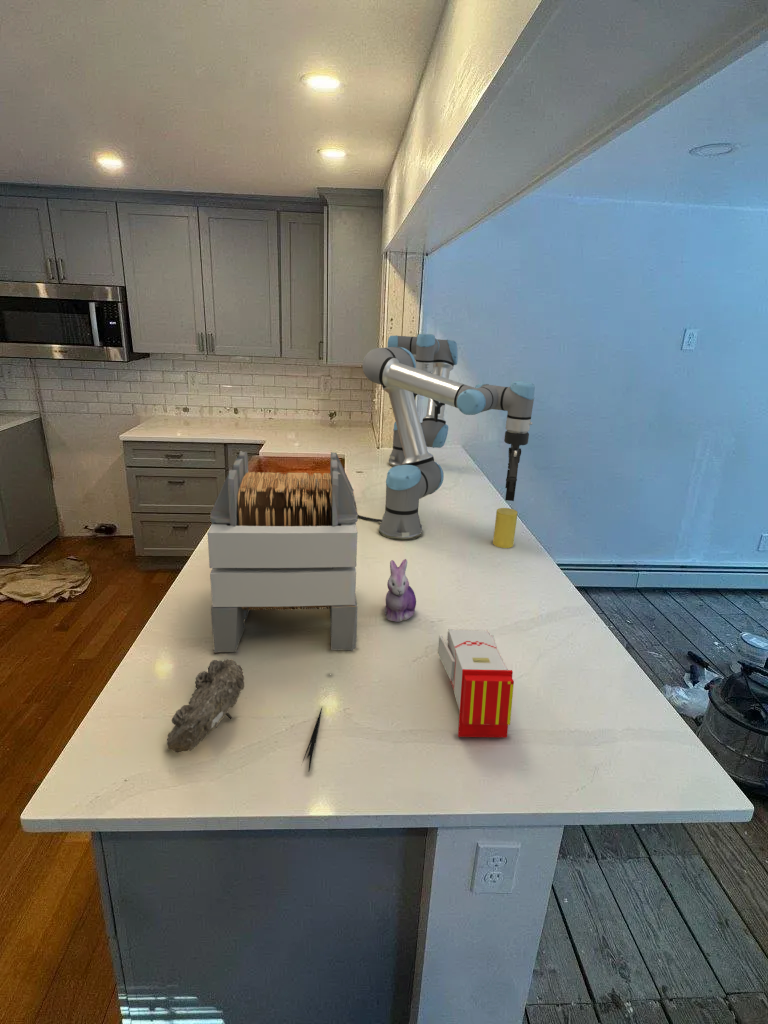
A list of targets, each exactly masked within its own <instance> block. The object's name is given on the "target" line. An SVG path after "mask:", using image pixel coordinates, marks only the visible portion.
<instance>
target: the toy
mask: <svg viewBox="0 0 768 1024" xmlns="http://www.w3.org/2000/svg"><path fill="white" fill-rule="evenodd" d="M446 640H447V643H446V641H445V639H444V636H443V635H442V634H439V637H438V646H437V656H438V657H439V659H440V661H441V663H442V666H443V668H444V670H445V672H446V674H447V677H448V679H449V681H450V684H451V687H452V690H453V693H454V697H455V701H456V705H457V708H458V711H459V714H458V715H459V716H458V730H457V731H458V732H457V737H458V738H508V731H509V726H510V725H511V717H512V707H513V697H514V696H513V695H514V684H515V680H514V679H513V673H514V671H513V670H512V669H508V667H507V665H506V662H505V661H504V659H503V658H502V655H501V653H500V651H499V649H498V647H497V643H496V639H495V637H494V635H493V634H491V632H490V631H489V629H467V628H466V629H465V628H463V629H461V628H460V629H459V628H448V630H447V639H446Z"/></svg>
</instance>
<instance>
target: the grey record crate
mask: <svg viewBox="0 0 768 1024" xmlns="http://www.w3.org/2000/svg"><path fill="white" fill-rule="evenodd" d="M329 465H330V466H329V467H330V469H329V470H330V472H324V473H321V472H313V474H309V473H308V472H286V473H285V472H284V473H283V472H274V471H273V472H269V471H266V472H264V471H263V472H260V471H259V472H258V471H257V472H255V471H249V459H248V451H242V450H240V451H239V453H238V455H237V457H236V458H235V460H234V463H233V465H232V467H231V468H230V469H229V471H228V473H227V475H226V477H225V480H224V482H223V484H222V487H221V489H220V491H219V493H218V496H217V498H216V500H215V502H214V504H213V507H212V508H211V511H210V514H209V519H210V523H211V525H210V527H209V529H208V531H207V532H206V534H207V548H208V562H209V563H208V565H209V569H211V570H210V573H209V575H210V576H209V577H210V590H211V591H210V592H211V593H210V594H211V606H210V617H211V633H212V637H213V638H212V639H213V649H212V652H213V653H214V654H215V653H216V654H220V653H236V652H237V649H238V647H239V645H240V642H241V639H242V637H243V635H244V632H245V625H246V624H245V621H247V619H248V615H249V611H268V610H270V611H273V610H274V611H275V610H277V611H278V610H279V611H280V610H284V611H286V610H290V611H291V610H294V611H295V610H325V609H326V610H329V619H330V621H329V622H330V623H329V625H330V626H329V627H330V628H329V629H330V650H331V651H351V652H353V651H354V650H355V649H357V638H358V635H357V631H358V602H357V601H358V600H357V593H356V590H357V589H356V588H357V569H356V568H357V555H358V553H357V551H358V529H357V522H358V519H359V518H358V515H359V513H358V507H357V502H356V497H355V493H354V488H353V486H352V484H351V481H350V479H349V478H348V475H347V473H346V471H345V469H344V466H343V464H342V461H341V460H340V458H339V456H338V453H337V452H333V451H330V463H329Z"/></svg>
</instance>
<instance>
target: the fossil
mask: <svg viewBox="0 0 768 1024" xmlns="http://www.w3.org/2000/svg"><path fill="white" fill-rule="evenodd" d="M243 670H244V669H243V667H242V665H240V664H237V662H236V661H235V660H234V659H232V658H231V659H227V658H226V659H224V660H223V661H222V660H217V659H212V660H211V661H210V663H209V665H208V666H207V671H201V672H199V673H198V674H197V675H196V676H195V680H194V684H195V685H194V687H195V689H194V690H193V693H192V694H191V697H190V698H189V700H188V704H184V705H182V706H181V707H180V709H177V710H176V711H175V713H174V715H173V716H172V718H171V723H172V724H173V727H172V730H171V731H170V732H168V734H167V738H166V741H167V742H166V745H167V749H168V750H169V751H173V752H174V753H176V754H178V753H182V752H188V751H189V752H192V751H193V750H195V748H196V747H197V746H199V744H200V743H201V742H203V741H204V740H205V739H206V738H207V737H208V736H209V735H210V734H211V733H212V732H214V730H215V729H217V727H218V726H219V724H220V722H221V721H222V720H223V719H224V718H225V716H226V717H227V719H229V720H233V717H232V715H230V714H229V710H230V709H231V708H234V706H235V704H236V703H237V702H238V699H239V697H240V695H241V693H242V691H243V690H245V689H244V688H245V675H244V671H243Z"/></svg>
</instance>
